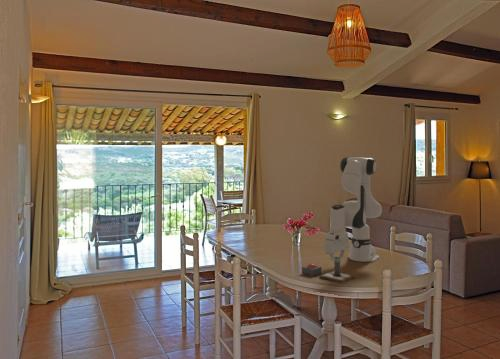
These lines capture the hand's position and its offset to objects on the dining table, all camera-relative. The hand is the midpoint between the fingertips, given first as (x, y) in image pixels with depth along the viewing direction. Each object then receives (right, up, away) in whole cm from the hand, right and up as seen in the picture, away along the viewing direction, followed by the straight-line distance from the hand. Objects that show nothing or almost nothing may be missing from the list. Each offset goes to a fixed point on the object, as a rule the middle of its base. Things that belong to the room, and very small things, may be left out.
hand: (337, 258), depth 240 cm
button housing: (-13, -10, +8) cm, 19 cm away
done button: (-13, -8, +8) cm, 17 cm away
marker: (0, -9, 0) cm, 9 cm away
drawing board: (0, -11, 0) cm, 11 cm away
